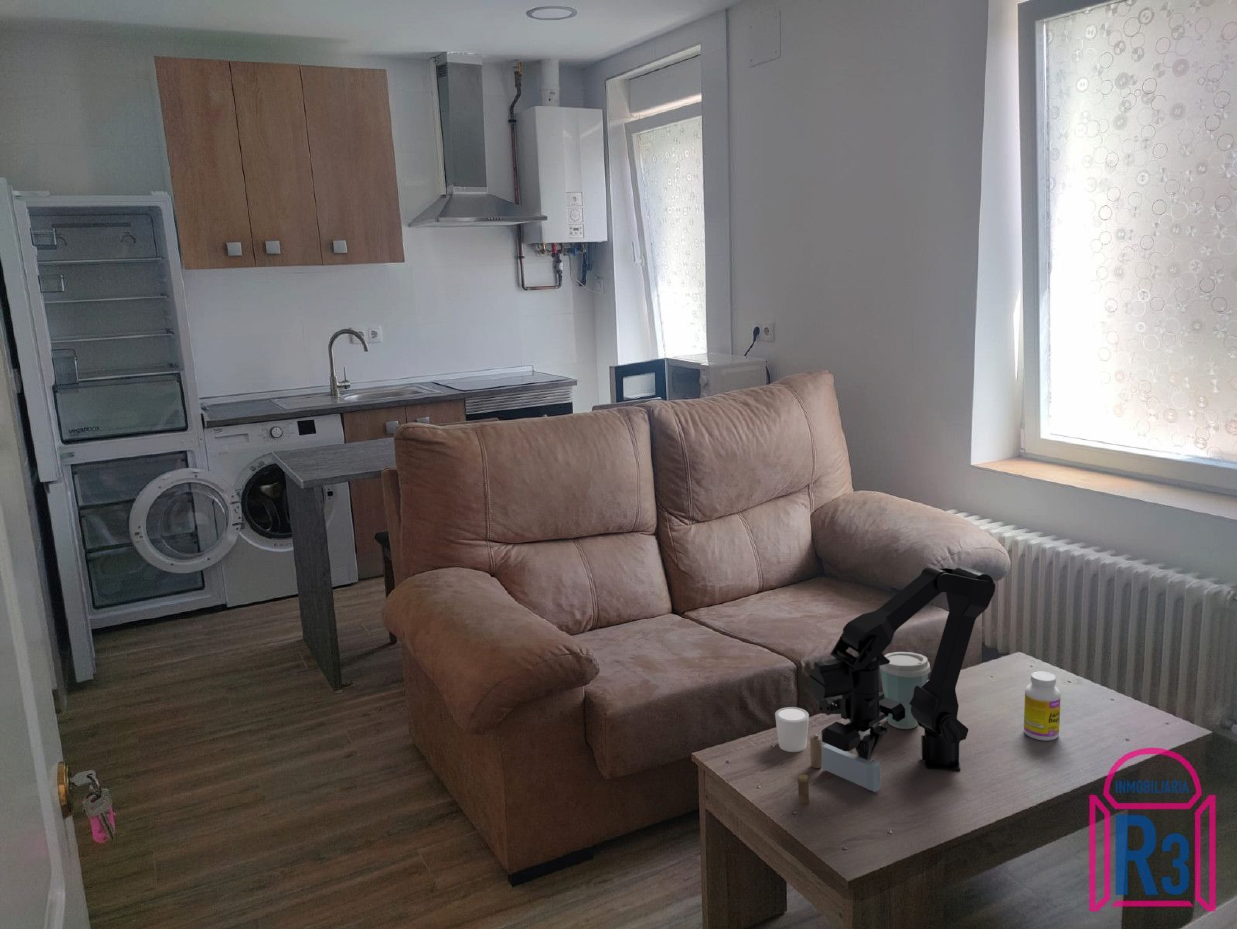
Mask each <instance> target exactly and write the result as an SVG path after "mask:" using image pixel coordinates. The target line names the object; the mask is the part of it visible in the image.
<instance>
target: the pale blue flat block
mask: <svg viewBox="0 0 1237 929" xmlns="http://www.w3.org/2000/svg"><path fill="white" fill-rule="evenodd" d="M809 742H810V745H809V746H810V749H809V750H810V752H809V753H810V766H811V767H812V768H814V769H820V768H821V767H822V768H821V769H822V770H824V771H827V772H829V773H832V774H834V775H836V776H838V777H840V778H843V779H845V780H847V781H849V782H852V783H855V784H857V785H858V786H860V787H863V788H866V790H868V791H870V792H874V793H875V792H877V791H878V790H879V789H881V762H879V761H877V760H874V759H872V760H870V761H868V760H866V759H864V758H861V757H859V756H858V755H856V754H854V753H851V752H850V751H843V750H840V749H838V748H836V747H833V746H831V745H829V744H826V743H824V744H823V742H822V736H820V735H819V734H817V733H814V734H813V735H811V736H810V738H809Z"/></svg>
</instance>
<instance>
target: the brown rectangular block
mask: <svg viewBox="0 0 1237 929" xmlns="http://www.w3.org/2000/svg"><path fill="white" fill-rule="evenodd" d="M809 781H810V780H809V777H808V774H799V777H798V784H797V785H798V805H810V789H809V788H810V784H809V783H810V782H809Z"/></svg>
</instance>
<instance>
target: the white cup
mask: <svg viewBox="0 0 1237 929" xmlns="http://www.w3.org/2000/svg"><path fill="white" fill-rule="evenodd" d="M774 716H775V717H774V718H775V725H776V733H777V741H778V746H779V748H780V749H781V750H783V751H785V752H789V753H790V752H791V753H798V752H803V751H804V750H805V749H806V747H807V745H808V743H807V742H808V732H809V731H808V730H809V721H810V720H809V719H810V714H809V712H808V711H807V710H805V709H804V708H800V707H794V706H791V707H789V706H788V707H782V708H779V709H778V710H776V711H775V713H774Z"/></svg>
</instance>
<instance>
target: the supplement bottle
mask: <svg viewBox="0 0 1237 929" xmlns="http://www.w3.org/2000/svg"><path fill="white" fill-rule="evenodd" d="M1030 682H1031V683H1029V684H1027V686H1026V687H1025V689H1024V710H1023V711H1024V712H1023V731H1024V733H1025V735H1027V736H1028V737H1029V738H1031V739H1034V740H1038V741H1045V742H1046V741H1048V742H1049V741H1054V740H1055V739H1057V738H1058V737H1059V736H1060V721H1061V720H1060V719H1061V718H1060V716H1061V714H1060V713H1061V698H1062V697H1061V695H1062V694H1061V691H1060V690H1059V689H1058V687H1057V686H1056V684H1057V677H1056V675H1054V674H1053V673H1052V672H1048V671H1041V670H1039V671H1034V672H1032V673H1031V674H1030Z"/></svg>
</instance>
